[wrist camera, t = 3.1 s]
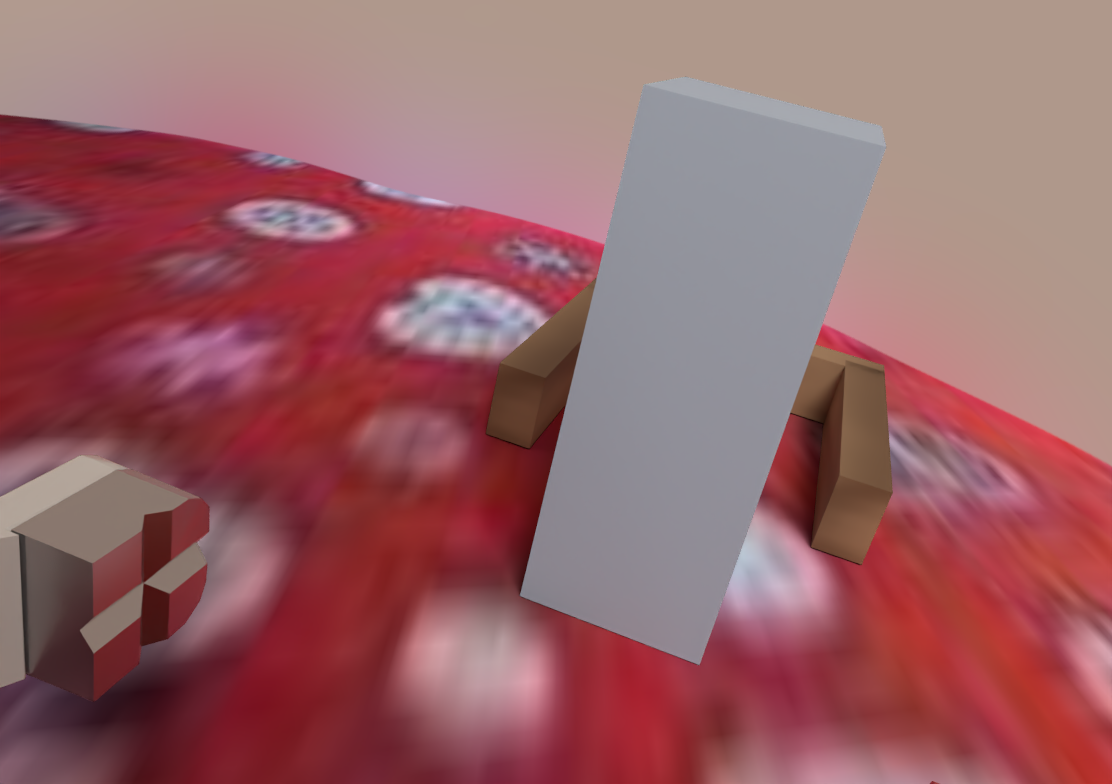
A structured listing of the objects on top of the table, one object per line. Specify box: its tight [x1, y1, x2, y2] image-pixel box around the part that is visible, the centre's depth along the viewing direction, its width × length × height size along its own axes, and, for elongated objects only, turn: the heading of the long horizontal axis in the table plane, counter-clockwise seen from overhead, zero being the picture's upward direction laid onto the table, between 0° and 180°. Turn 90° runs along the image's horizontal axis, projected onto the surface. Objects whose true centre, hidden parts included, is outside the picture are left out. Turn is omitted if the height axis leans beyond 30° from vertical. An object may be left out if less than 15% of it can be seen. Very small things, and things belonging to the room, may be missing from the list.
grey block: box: [520, 77, 886, 665], centre depth 21 cm, size 4×4×12 cm
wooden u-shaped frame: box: [486, 278, 893, 565], centre depth 32 cm, size 12×11×2 cm
